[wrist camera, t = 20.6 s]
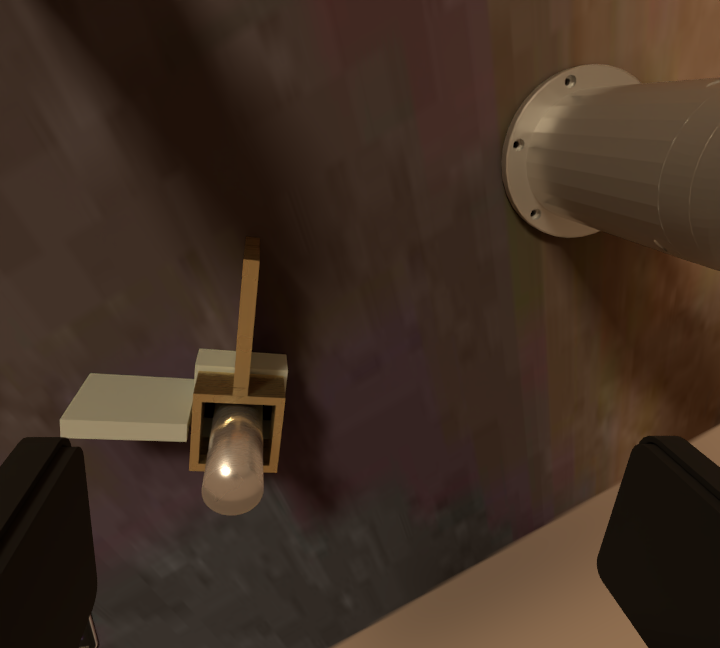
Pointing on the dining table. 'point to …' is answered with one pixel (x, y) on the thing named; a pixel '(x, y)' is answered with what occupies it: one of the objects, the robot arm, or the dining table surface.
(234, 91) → the dining table surface
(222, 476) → the pin
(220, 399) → the fixed leaf
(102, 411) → the loose leaf
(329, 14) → the dining table surface
